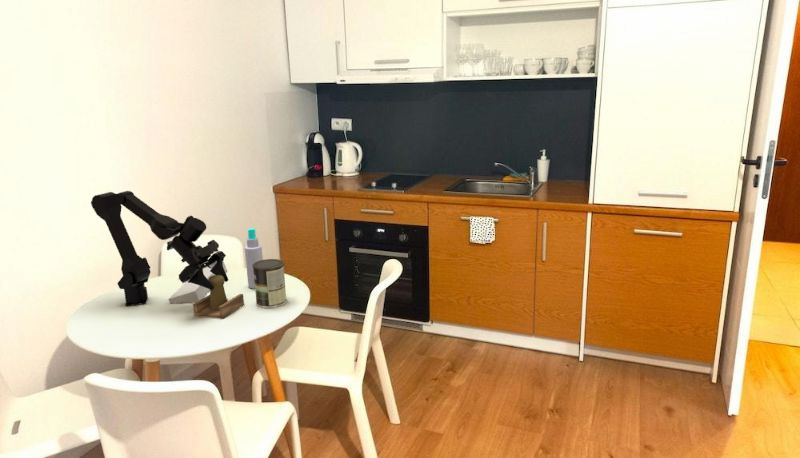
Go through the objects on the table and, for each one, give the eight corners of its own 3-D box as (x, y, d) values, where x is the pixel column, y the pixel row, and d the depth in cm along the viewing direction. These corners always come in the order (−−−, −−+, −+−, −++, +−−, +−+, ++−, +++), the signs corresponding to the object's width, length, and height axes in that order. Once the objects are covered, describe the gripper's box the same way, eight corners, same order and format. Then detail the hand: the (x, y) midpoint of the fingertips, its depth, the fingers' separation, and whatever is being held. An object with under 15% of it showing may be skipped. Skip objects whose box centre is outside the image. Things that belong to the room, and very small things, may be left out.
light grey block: (173, 311, 195) (200, 303, 195) (167, 299, 194) (195, 291, 194) (204, 279, 228) (227, 272, 228) (200, 268, 227) (223, 261, 227)
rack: (194, 315, 183) (192, 304, 182) (216, 302, 194) (215, 291, 193) (223, 318, 180) (222, 307, 179) (244, 305, 191) (243, 294, 190)
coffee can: (253, 309, 187) (249, 268, 184) (259, 298, 197) (255, 259, 194) (284, 307, 188) (281, 267, 185) (288, 296, 198) (285, 258, 195)
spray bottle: (258, 282, 213) (253, 226, 208) (268, 285, 209) (263, 228, 204) (245, 287, 209) (239, 229, 203) (254, 290, 205) (249, 231, 200)
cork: (206, 307, 187) (202, 276, 184) (223, 302, 191) (220, 271, 188) (214, 312, 183) (211, 280, 180) (231, 307, 187) (228, 275, 184)
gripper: (182, 242, 173) (216, 278, 173) (218, 227, 191) (249, 261, 190) (164, 265, 178) (197, 300, 177) (200, 248, 195) (231, 281, 194)
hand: (220, 284), depth 185 cm, fingers open, 8 cm apart
